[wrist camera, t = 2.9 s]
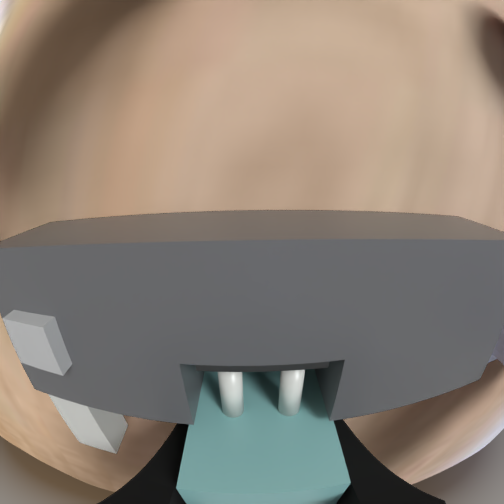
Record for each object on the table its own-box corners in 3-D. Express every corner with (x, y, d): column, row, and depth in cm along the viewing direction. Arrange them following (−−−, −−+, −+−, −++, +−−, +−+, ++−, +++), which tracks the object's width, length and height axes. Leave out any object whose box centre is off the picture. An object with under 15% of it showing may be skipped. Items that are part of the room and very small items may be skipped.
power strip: (458, 216, 9) (537, 245, 5) (434, 330, 11) (487, 387, 6) (1, 228, 9) (-64, 255, 5) (27, 327, 11) (-22, 373, 6)
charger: (318, 314, 10) (373, 446, 4) (301, 428, 12) (317, 525, 6) (198, 317, 10) (155, 453, 4) (215, 430, 12) (205, 528, 6)
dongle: (96, 351, 8) (74, 381, 7) (128, 425, 10) (116, 453, 8) (58, 344, 8) (35, 369, 7) (93, 416, 10) (79, 442, 8)
